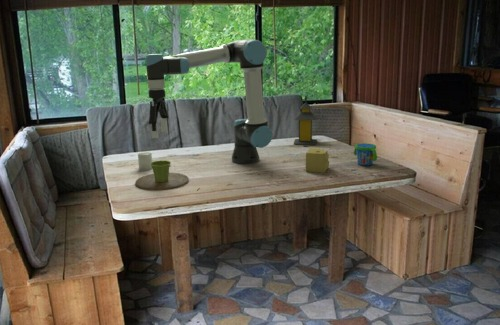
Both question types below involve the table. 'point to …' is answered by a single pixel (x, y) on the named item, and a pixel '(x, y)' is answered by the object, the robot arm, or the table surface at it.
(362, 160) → the snack cup
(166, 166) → the plant pot
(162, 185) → the trivet
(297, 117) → the lantern
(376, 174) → the table surface
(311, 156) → the cheese
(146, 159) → the grey small cylinder
